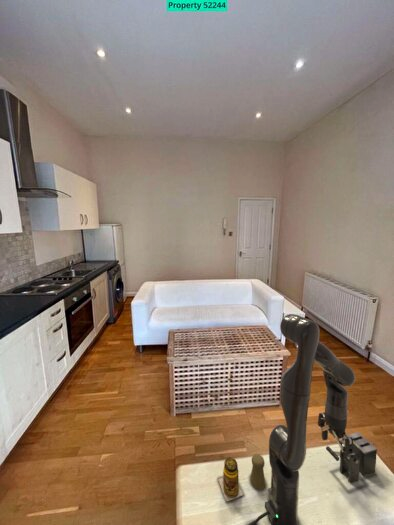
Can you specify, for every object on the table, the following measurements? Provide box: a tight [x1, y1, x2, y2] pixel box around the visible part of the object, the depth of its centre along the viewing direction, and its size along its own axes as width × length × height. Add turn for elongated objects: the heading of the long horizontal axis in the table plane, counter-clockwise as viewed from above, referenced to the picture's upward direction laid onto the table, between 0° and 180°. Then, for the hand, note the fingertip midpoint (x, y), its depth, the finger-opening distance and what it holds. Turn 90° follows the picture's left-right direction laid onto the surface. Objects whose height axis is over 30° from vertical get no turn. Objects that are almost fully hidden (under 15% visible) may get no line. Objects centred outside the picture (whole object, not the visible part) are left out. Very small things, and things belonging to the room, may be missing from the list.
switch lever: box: [325, 445, 354, 462], centre depth 90 cm, size 12×5×2 cm, turn 103°
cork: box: [249, 453, 266, 490], centre depth 91 cm, size 6×6×11 cm
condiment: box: [217, 456, 244, 502], centre depth 89 cm, size 7×8×12 cm
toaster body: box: [346, 431, 378, 477], centre depth 96 cm, size 7×8×12 cm
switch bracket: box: [339, 445, 360, 485], centre depth 91 cm, size 10×8×13 cm
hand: (333, 448), depth 88 cm, fingers open, 8 cm apart
